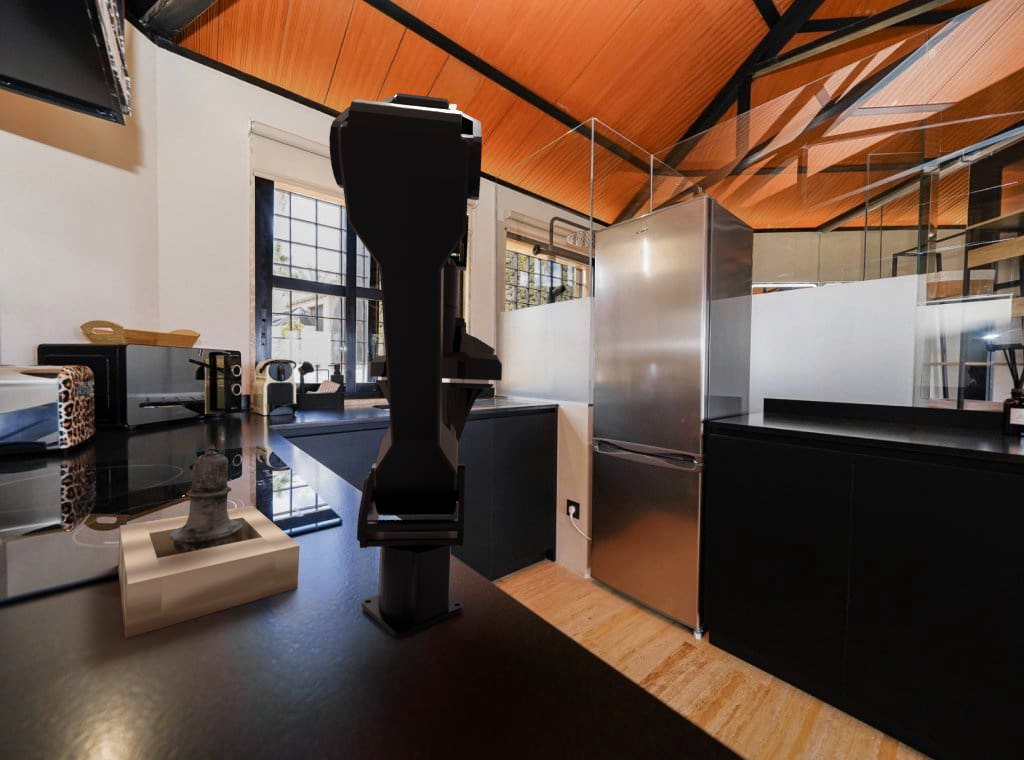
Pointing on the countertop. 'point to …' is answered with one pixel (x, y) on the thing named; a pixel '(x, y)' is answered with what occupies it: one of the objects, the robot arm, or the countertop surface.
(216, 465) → the salt shaker
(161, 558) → the socket board
